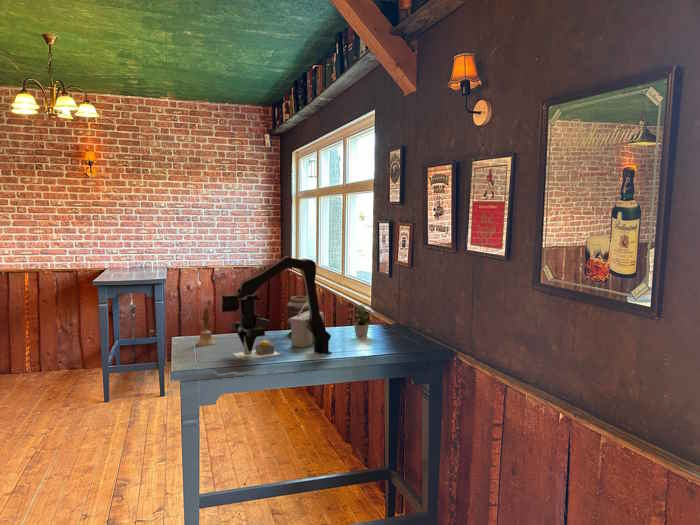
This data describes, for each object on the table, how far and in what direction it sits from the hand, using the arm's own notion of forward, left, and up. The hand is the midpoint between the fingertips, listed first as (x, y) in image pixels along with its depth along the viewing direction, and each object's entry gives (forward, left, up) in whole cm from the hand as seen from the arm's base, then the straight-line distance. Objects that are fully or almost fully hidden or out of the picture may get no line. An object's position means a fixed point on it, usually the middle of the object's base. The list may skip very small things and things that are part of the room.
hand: (248, 350), depth 207 cm
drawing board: (+2, -4, -3) cm, 6 cm away
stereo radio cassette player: (+8, -32, -4) cm, 33 cm away
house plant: (+8, -60, -4) cm, 61 cm away
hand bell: (+32, +6, -4) cm, 32 cm away
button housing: (+3, -8, -3) cm, 9 cm away
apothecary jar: (+28, -39, -4) cm, 48 cm away
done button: (+3, -8, 0) cm, 9 cm away
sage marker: (0, 0, -2) cm, 2 cm away
